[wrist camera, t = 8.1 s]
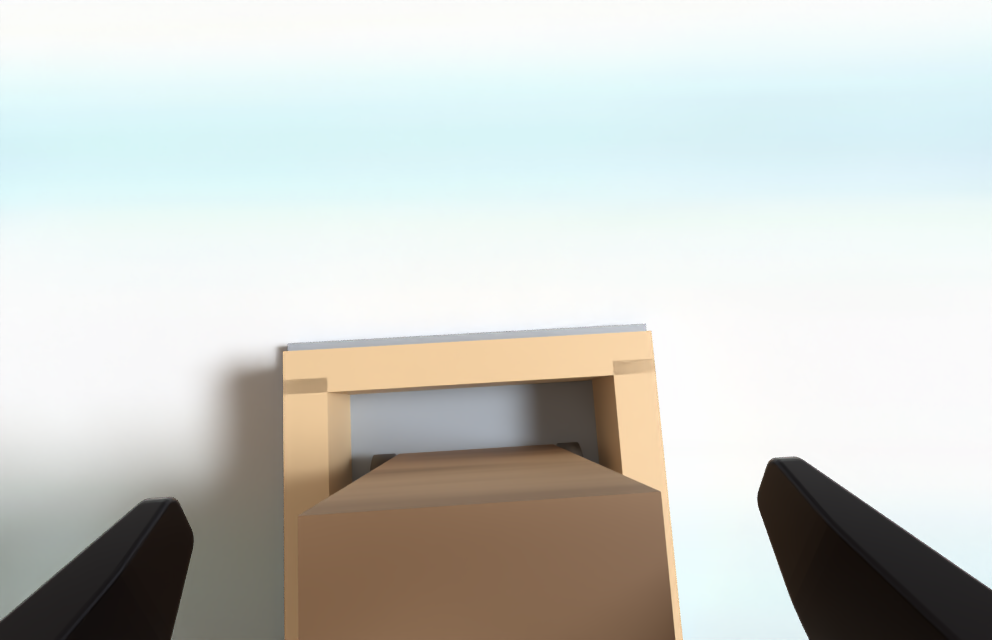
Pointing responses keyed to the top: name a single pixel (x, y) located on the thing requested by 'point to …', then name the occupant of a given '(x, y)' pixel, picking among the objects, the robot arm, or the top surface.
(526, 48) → the top surface
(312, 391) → the dock
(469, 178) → the top surface
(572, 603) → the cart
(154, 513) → the robot arm
